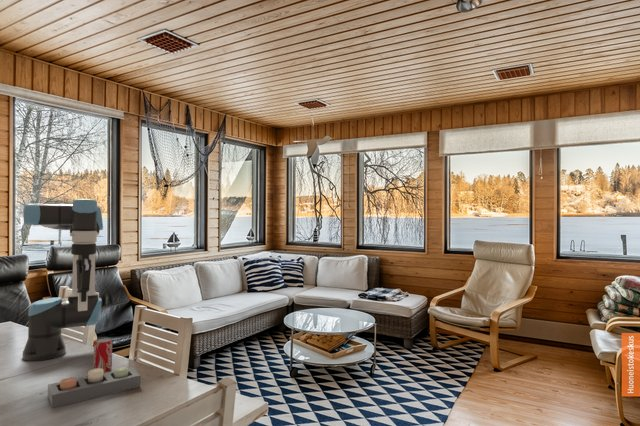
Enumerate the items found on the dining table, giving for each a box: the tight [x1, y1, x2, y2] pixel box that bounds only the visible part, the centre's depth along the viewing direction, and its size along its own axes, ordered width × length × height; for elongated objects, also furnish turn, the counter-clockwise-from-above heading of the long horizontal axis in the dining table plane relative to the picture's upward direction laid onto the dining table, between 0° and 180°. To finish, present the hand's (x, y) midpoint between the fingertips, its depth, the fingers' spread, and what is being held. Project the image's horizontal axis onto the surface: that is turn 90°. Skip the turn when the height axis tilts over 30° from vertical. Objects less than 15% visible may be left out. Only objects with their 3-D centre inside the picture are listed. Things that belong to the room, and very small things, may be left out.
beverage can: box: [92, 337, 113, 373], centre depth 157 cm, size 6×6×12 cm
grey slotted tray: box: [47, 366, 141, 409], centre depth 139 cm, size 10×26×4 cm, turn 130°
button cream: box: [87, 368, 104, 383], centre depth 139 cm, size 5×5×3 cm
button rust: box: [59, 377, 77, 391], centre depth 134 cm, size 5×5×3 cm
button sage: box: [113, 366, 129, 379], centre depth 144 cm, size 5×5×3 cm
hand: (82, 310), depth 143 cm, fingers closed
